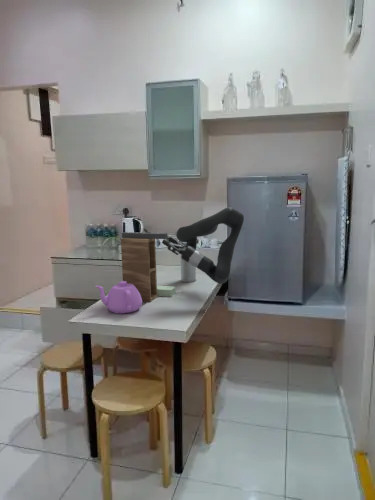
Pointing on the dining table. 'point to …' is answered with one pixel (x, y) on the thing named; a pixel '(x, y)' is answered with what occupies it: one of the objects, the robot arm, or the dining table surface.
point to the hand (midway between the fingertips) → (166, 239)
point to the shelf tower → (140, 266)
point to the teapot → (121, 298)
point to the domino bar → (144, 235)
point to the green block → (166, 291)
